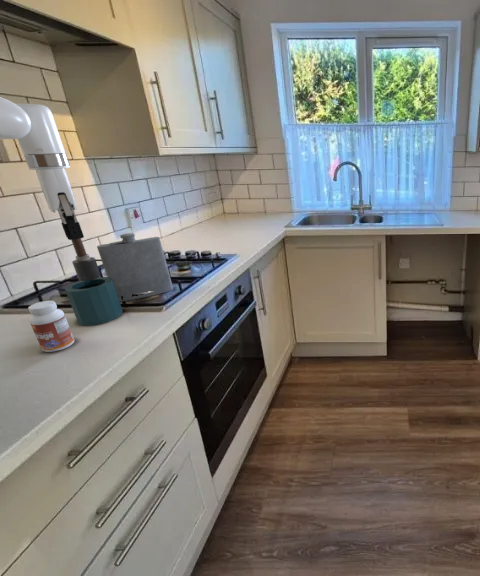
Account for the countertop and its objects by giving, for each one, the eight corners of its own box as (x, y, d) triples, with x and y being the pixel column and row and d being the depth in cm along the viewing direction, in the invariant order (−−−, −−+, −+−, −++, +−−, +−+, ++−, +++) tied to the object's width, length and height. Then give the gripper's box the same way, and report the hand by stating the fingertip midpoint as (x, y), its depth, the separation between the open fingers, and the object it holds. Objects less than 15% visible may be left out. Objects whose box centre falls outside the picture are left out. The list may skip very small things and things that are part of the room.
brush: (80, 282, 94) (56, 218, 87) (77, 277, 97) (54, 216, 91) (102, 277, 97) (81, 215, 90) (99, 273, 100) (78, 213, 94)
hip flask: (172, 287, 121) (156, 228, 113) (174, 290, 118) (158, 230, 110) (115, 299, 113) (94, 236, 105) (115, 303, 109) (93, 239, 102)
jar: (81, 329, 95) (67, 294, 91) (75, 317, 102) (62, 284, 98) (126, 316, 102) (115, 283, 98) (118, 305, 108) (107, 274, 104)
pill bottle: (35, 352, 85) (15, 310, 80) (59, 339, 90) (41, 298, 86) (59, 353, 84) (40, 310, 80) (81, 339, 90) (65, 299, 86)
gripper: (25, 162, 88) (53, 235, 95) (28, 164, 78) (60, 246, 85) (64, 160, 93) (88, 230, 100) (72, 162, 83) (99, 240, 90)
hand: (75, 237), depth 93 cm, fingers closed on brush
